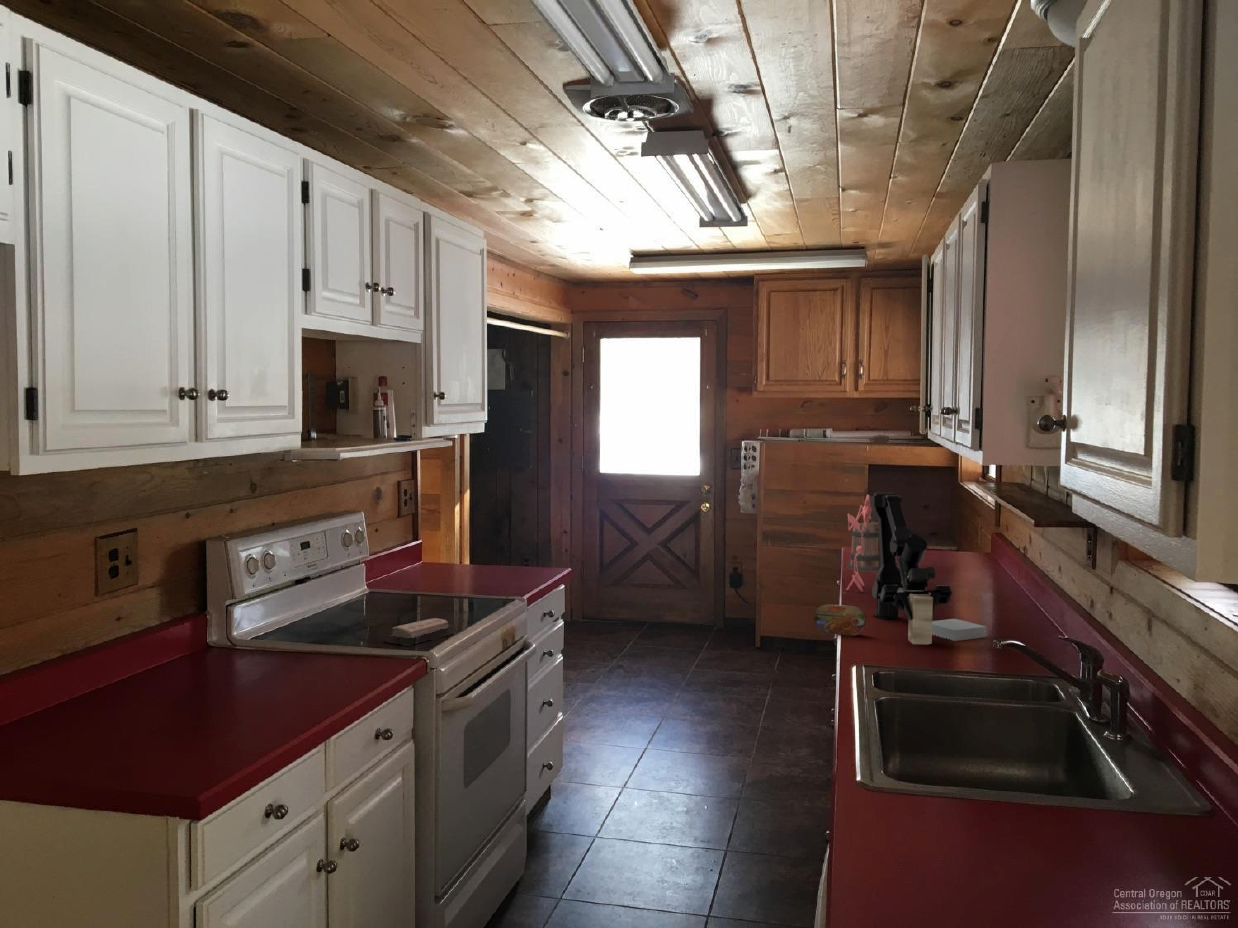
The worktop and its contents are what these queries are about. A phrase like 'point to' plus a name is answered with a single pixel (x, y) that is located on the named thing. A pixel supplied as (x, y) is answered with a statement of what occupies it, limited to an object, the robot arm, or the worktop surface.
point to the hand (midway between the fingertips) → (921, 619)
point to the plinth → (957, 629)
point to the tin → (840, 620)
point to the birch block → (920, 619)
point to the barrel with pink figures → (860, 549)
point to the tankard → (866, 548)
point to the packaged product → (419, 628)
